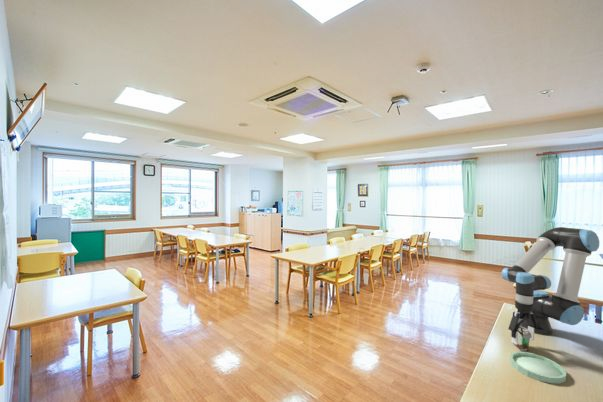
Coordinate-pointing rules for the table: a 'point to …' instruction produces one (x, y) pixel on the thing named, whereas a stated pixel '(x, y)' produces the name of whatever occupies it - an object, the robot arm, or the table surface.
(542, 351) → the table surface
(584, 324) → the table surface
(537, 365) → the tray
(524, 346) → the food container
